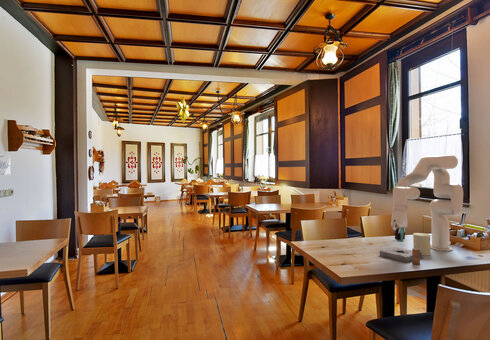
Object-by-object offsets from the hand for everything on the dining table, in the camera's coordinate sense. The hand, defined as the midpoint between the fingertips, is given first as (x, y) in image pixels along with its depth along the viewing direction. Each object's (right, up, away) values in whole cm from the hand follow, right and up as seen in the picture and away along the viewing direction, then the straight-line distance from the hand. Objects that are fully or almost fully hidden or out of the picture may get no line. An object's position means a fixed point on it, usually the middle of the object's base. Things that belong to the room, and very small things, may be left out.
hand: (399, 239), depth 170 cm
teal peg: (0, -1, 0) cm, 1 cm away
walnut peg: (+2, -10, -13) cm, 17 cm away
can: (+17, -11, +7) cm, 22 cm away
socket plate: (0, -10, 0) cm, 10 cm away
